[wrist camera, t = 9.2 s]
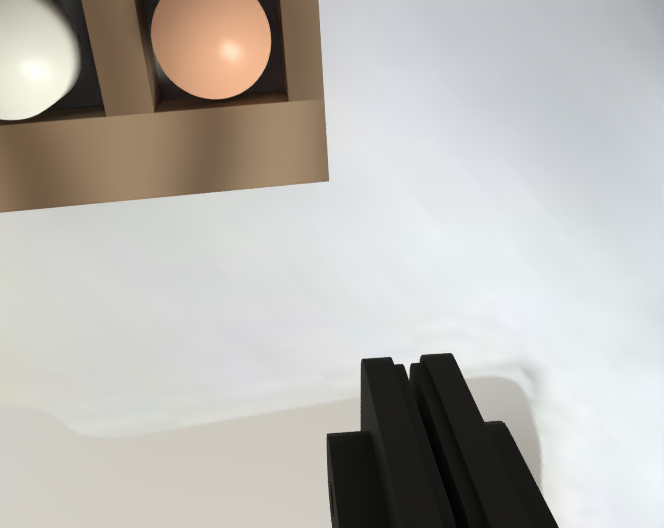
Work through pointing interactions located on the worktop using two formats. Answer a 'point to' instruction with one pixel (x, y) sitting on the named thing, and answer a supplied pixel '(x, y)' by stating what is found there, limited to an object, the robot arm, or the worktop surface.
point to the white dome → (36, 57)
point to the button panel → (168, 125)
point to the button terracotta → (211, 44)
